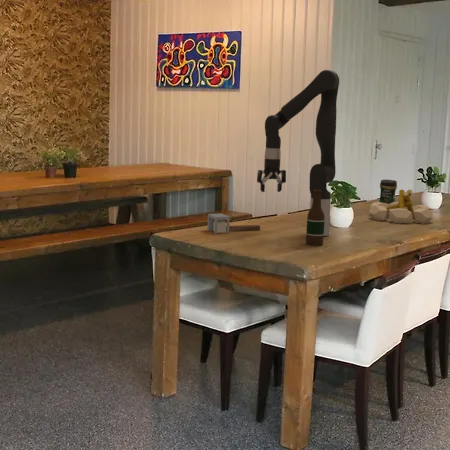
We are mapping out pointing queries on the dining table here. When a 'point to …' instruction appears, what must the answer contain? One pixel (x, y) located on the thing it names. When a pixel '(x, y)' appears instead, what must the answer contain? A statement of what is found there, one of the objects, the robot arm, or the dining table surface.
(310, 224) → the beer bottle
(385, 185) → the coffee jar
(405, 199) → the campfire
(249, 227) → the bar
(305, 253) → the dining table surface
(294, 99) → the robot arm
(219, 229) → the block
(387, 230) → the dining table surface
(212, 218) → the tunnel
